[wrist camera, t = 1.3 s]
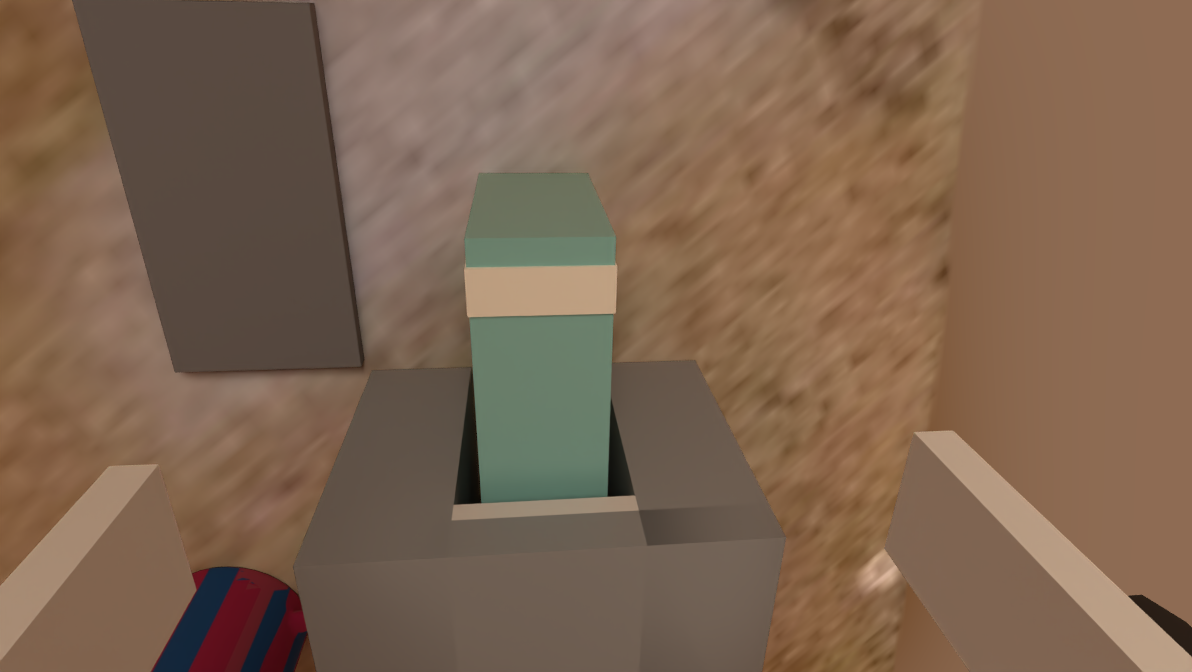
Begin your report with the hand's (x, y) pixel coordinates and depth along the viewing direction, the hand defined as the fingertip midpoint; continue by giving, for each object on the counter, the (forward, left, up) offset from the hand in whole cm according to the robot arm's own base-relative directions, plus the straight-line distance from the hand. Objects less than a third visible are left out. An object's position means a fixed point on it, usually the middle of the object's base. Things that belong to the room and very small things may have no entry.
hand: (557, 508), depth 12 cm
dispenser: (+10, 0, -16) cm, 19 cm away
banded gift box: (+3, 0, -16) cm, 16 cm away
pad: (-2, -11, -16) cm, 19 cm away
